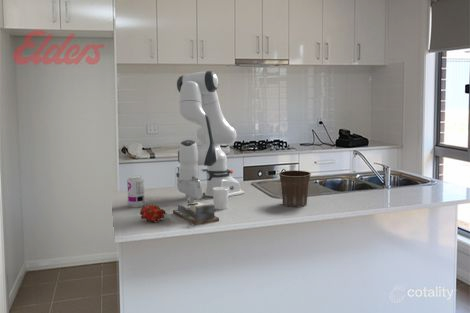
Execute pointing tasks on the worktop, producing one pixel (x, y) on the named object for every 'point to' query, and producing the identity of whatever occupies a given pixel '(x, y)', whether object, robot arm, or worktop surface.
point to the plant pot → (294, 187)
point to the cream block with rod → (194, 206)
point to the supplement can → (136, 191)
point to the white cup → (220, 197)
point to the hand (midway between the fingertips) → (190, 204)
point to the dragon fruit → (152, 213)
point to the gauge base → (197, 214)
